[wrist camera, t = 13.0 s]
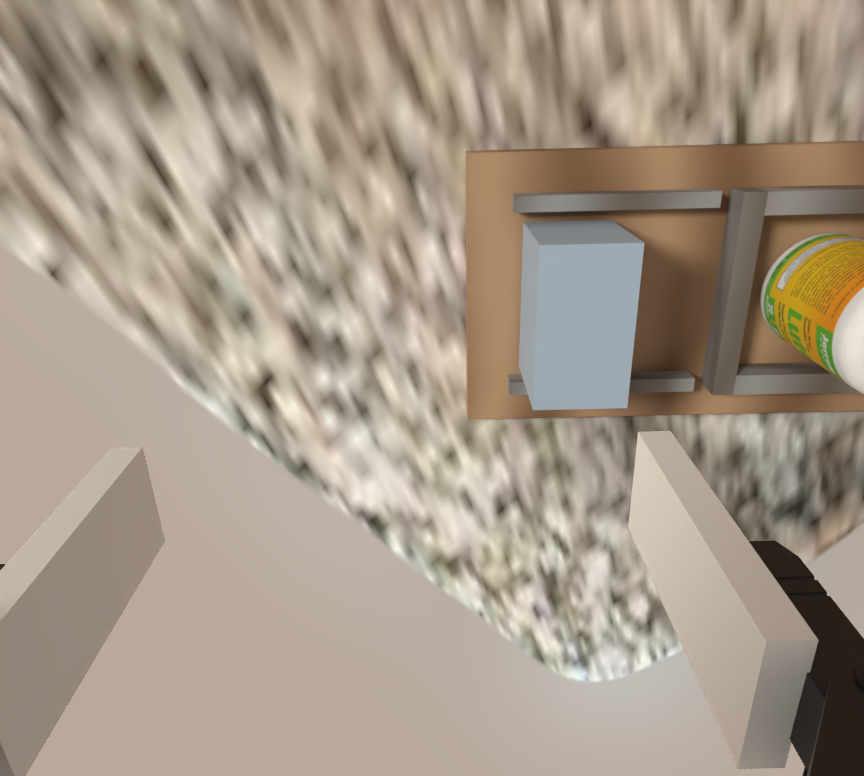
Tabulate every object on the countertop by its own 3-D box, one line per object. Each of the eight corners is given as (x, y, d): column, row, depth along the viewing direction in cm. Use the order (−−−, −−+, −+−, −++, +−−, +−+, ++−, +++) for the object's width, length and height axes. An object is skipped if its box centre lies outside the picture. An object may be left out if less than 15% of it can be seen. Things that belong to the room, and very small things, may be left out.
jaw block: (518, 366, 33) (532, 410, 28) (523, 222, 30) (539, 245, 25) (599, 364, 33) (627, 408, 28) (611, 220, 30) (644, 242, 25)
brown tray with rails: (466, 409, 35) (469, 432, 33) (466, 151, 30) (469, 156, 28) (881, 400, 35) (915, 423, 33) (953, 138, 30) (1000, 142, 28)
